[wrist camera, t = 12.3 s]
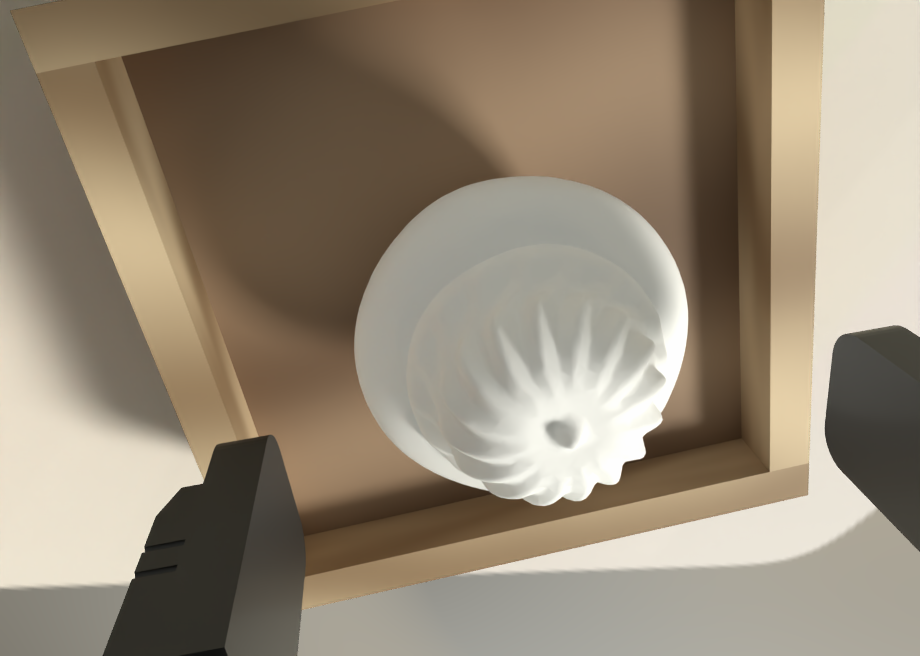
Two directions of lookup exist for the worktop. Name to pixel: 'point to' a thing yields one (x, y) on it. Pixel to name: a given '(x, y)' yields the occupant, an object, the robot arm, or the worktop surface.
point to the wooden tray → (413, 189)
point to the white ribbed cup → (523, 337)
